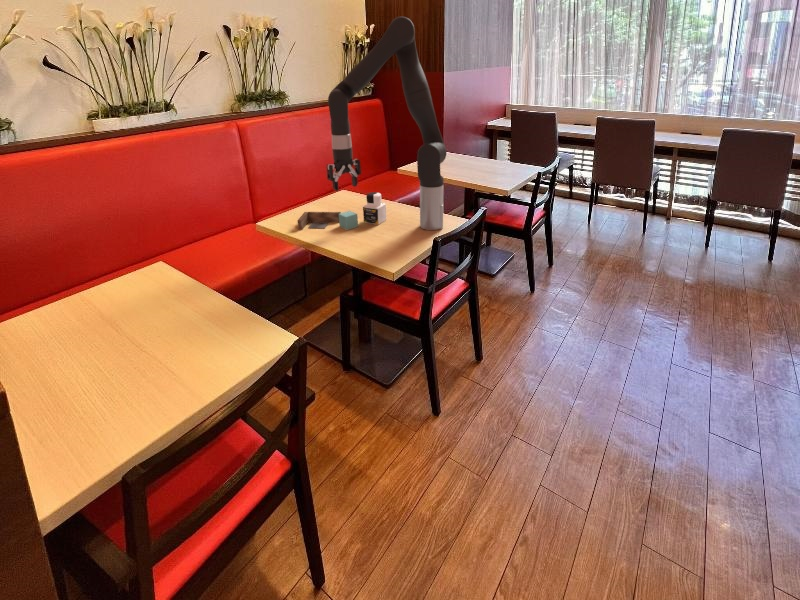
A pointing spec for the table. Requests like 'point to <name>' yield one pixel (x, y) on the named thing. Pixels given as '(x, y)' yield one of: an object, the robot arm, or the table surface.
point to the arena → (317, 219)
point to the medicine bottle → (374, 209)
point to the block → (348, 220)
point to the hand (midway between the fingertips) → (345, 188)
